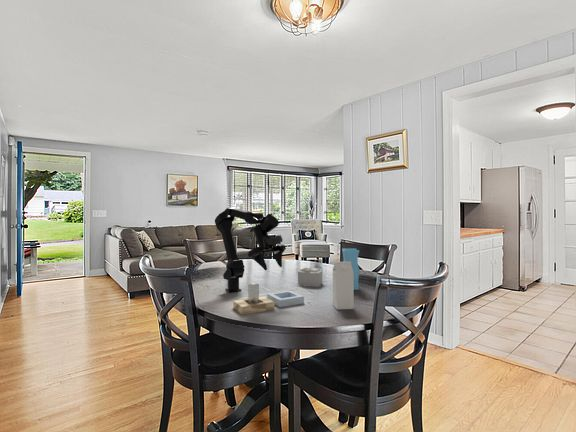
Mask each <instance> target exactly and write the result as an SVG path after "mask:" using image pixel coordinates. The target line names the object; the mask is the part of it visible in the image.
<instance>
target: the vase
mask: <svg viewBox="0 0 576 432" xmlns="http://www.w3.org/2000/svg"><path fill="white" fill-rule="evenodd" d="M341 249H342V250H341V251H342V255H343V259H342V260H343V261H342V262H351V265H352V269H353V274H354V291H358V290H360V287H359V276H360V272H361V271H360V267H359V264H358V263H359V262H358V258H359V255H360V249H358V248H349V247H348V248H341ZM357 249H358V250H357Z"/></svg>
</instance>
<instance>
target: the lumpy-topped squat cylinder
mask: <svg viewBox="0 0 576 432" xmlns="http://www.w3.org/2000/svg"><path fill="white" fill-rule="evenodd" d="M297 284H298V285H300V286H304V287H305V286H306V287H320V286H321V285H323V270H321V269H320V268H317V267H314V266H311V267H307V266H306V267H302V268H301V269H298V270H297Z"/></svg>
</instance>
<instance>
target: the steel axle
mask: <svg viewBox="0 0 576 432" xmlns="http://www.w3.org/2000/svg"><path fill="white" fill-rule="evenodd" d="M247 286H248V287H247V293H248V294H247V295H248V297H247V299H248V304H255V303H259V297H260V285H259V283H258V282H257V283H248V284H247Z"/></svg>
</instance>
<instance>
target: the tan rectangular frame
mask: <svg viewBox="0 0 576 432" xmlns="http://www.w3.org/2000/svg"><path fill="white" fill-rule="evenodd" d="M232 303H233V306H232V307H233V309H234V310H235V311H237V312H238V313H239V314H240V315H242V316H243V315H244V316H245V315H251V314H254V313H261V312H266V311H271V310H275V306H276V305H275V304H274V301H272V300H270V299H268V298H267V296H265V295H264V296H259V303H255V304H248V298H243V299H237V300H236V299H235V300H233V301H232Z"/></svg>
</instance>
